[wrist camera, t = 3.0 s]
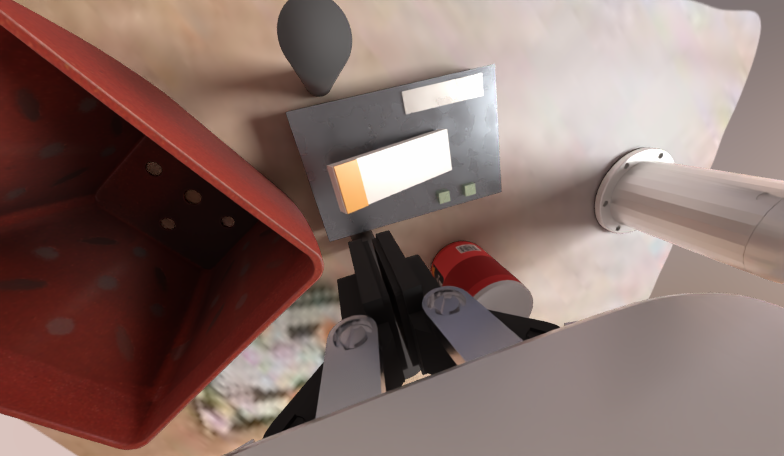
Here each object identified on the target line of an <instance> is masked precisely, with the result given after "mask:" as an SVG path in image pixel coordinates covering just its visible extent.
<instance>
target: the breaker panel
mask: <svg viewBox="0 0 784 456" xmlns="http://www.w3.org/2000/svg"><path fill="white" fill-rule="evenodd" d="M286 115H287V118H288V121H289V124H290V127H291V130H292V133H293V136H294V139H295V142H296V145H297V147H298V150H299V153H300V156H301V159H302V162H303V165H304V168H305V171H306V174H307V177H308V180H309V183H310V186H311V189H312V191H313V194H314V197H315V200H316V203H317V206H318V209H319V212H320V215H321V218H322V221H323V224H324V227H325V230H326V233H327V236H328V238H329V241H334V240H337V239H341V238H344V237H348V236H351V235H354V234H358V233H361V232H365V231H368V230H372V229H375V228H379V227H382V226H385V225H389V224H392V223H396V222H399V221H403V220H406V219H410V218H413V217H416V216H420V215H423V214H427V213H430V212H434V211H437V210H441V209H444V208H447V207H451V206H454V205H458V204H461V203H465V202H468V201H472V200H475V199H478V198H482V197H485V196H489V195H492V194H496V193H499V192H501V174H500V154H499V135H498V115H497V96H496V76H495V64H492V65H488V66H484V67H479V68H475V69H471V70H466V71H462V72H458V73H453V74H449V75H445V76H440V77H436V78H432V79H427V80H423V81H419V82H414V83H410V84H406V85H401V86H397V87H393V88H388V89H384V90H380V91H375V92H371V93H366V94H362V95H358V96H353V97H349V98H345V99H340V100H336V101H332V102H327V103H323V104H319V105H314V106H310V107H306V108H301V109H297V110H293V111H288V112H286ZM437 129H447V133H448V141H449V149H450V157H451V165H452V170H450V171H448V172H446V173H443V174H441V175H438V176H436V177H434V178H431V179H429V180H426V181H424V182H422V183H419V184H417V185H414V186H412V187H410V188H407V189H405V190H402V191H400V192H398V193H395V194H393V195H390V196H388V197H386V198H383V199H381V200H378V201H376V202H374V203H371V204H369V206H366V207H364V208H361V209H359V210H357V211H354V212H352V213H349V214H345V213H343V212H341V211H340V208H339V205H338V202H337V198H336V195H335V192H334V189H333V185H332V182H331V179H330V176H329V172H328V169H327V165H330V164H333V163H336V162H339V161H342V160H345V159H348V158H351V157H355V156H358V155H361V154H364V153H367V152H370V151H373V150H376V149H379V148H382V147H385V146H388V145H391V144H394V143H397V142H400V141H404V140H407V139H410V138H413V137H416V136H419V135H422V134H425V133H428V132H431V131H434V130H437Z"/></svg>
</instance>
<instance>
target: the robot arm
mask: <svg viewBox="0 0 784 456" xmlns="http://www.w3.org/2000/svg"><path fill="white" fill-rule="evenodd" d="M595 214H596V217H597V220H598V222H599V224H600V225H601V226H602V227H603V228H605V229H607V230H609V231H611V232H614V233H619V234H624V233H630V232H633V231H636V230H639V231H641V232H644V233H646V234H649V235H652V236H654V237H657V238H659V239H662V240H664V241H667V242H670V243H672V244H675V245H677V246H680V247H683V248H685V249H688V250H690V251H693V252H696V253H698V254H701V255H703V256H706V257H709V258H711V259H714V260H716V261H719V262H721V263H724V264H727V265H729V266H732V267H734V268H737V269H740V270H742V271H745V272H748V273H750V274H753V275H755V276H758V277H761V278H763V279H766V280H769V281H772V282H776V283H780V284H784V181H783V180H776V179H769V178H764V177H758V176H750V175H744V174H738V173H732V172H726V171H719V170H713V169H707V168H700V167H694V166H687V165H681V164H675V163H674V161H673V159H672V157H671V156H670V154H668V153H667V152H666V151H664V150H661V149H658V148H650V147H649V148H641V149H637V150H634V151H632V152H630V153H628V154H627V155H625V156H624V157H622V158H621V159H620V160H619V161H618V162H617V163H616V164H614V165H613V167H612V168H611V169H610V170H609V171H608V173H607V174H606V176H605V177H604V179H603V180H602V182H601V185H600V187H599V189H598V192H597V196H596V201H595ZM372 243H373V247H374V251H375V254H376V258H377V262H378V265H379V269H380V271H379V269H378V266H377V264H376V261H375V258H374V256H373V253H372V251H371V248H370V246H369V243H368V240H367V241H364V242H362V239H358V240H354V241H351V242H348V245H349V249H350V253H351V257H352V262H353V266H354V270H355V274H353V275H350V276H347V277H344V278H340V279H338V280H337V283H338V291H339V299H340V308H341V316H342V321H340V322H339V323H337V324H336V325H335V326H334V327H333V328H332V330H331V331H330V333H329V335H328V338H327V344H326V351H325V358H324V362H323V364H322V365H321V366H320V367H319V368H318V369H317V371H316V372H315V373H314V374H313V375H312V377H311V378H310V379H309V380H308V381H307V382H306V384H305V385H304V386H303V387H302V388H301V389H300V391H299V392H298V393H297V394H296V395H295V397H294V398H293V399H292V400H291V401H290V402H289V404H288V405H287V406H286V407H285V408H284V410H283V411H282V412H281V413H280V414H279V415H278V417H277V418H276V419H275V420H274V421H273V423H272V424H271V425H270V427H269V428H268V430H267V431H266V432H265V435H264V437H263V439H262V440H259V441H257V442H255V441H254V439H252V440H251V441H249V442H247V443H245V444H244V445H242V446H240V447H239V448H237V449H235V450H234V451H232V452H229V453H227V454H224V455H222V456H784V307H781V306H778V305H775V304H772V303H770V302H767V301H763V300H760V299H756V298H752V297H748V296H743V295H737V294H726V293H690V294H676V295H669V296H663V297H656V298H652V299H647V300H643V301H639V302H635V303H631V304H628V305H625V306H622V307H619V308H616V309H613V310H610V311H606V312H603V313H600V314H597V315H594V316H591V317H589V318H586V319H583V320H580V321H575V322H568V323H564V326H563V327H559V326H557V325H555V324H552V323H548V322H545V321H540V320H535V319H530V318H526V317H521V316H516V315H512V314H507V313H502V312H498V311H493V310H488V309H486V308H485V307H484V306H483V305H482V304H480V303H479V302H478V301H477V300H476V299H475V298H473V297H472V296H471V295H470V294H469V293H468V292H466V291H465V290H463V289H462V288H458V287H455V286H442V287H440V285H439V284H438V282H437V281H436V279H435V278H434V277H433V275H432V274H431V272H430V271H429V269H428V268H427V266H426V265H425V264H424V262H423V261H422V259H421V258H420V256H419V255H414V256H411V257H407V258H405V257H404V255H403V253H402V252H401V250H400V248H399V246H398V245H397V243H396V241H395V240H394V238H393V236H392V235H391V233H390V231H389V230H388V231H385V232H381V233H378V234H376V238H374V239H372ZM380 273H381V274H380ZM396 323H397V324H396ZM397 325H398V328H399V331H400V333H401V336H402V339H403V342H404V344H405V347H406V350H407V352H408V355H409V358H410V360H411V363H412V366H413V367H414V366H417V365H419V367H420V369H421V372H422V374H423V375H424V374H427V373H429V374H431V375H430V376H427V377H425V378H422V379H419V380H417V381H414V382H411V383H409V384H406V385H403V386H402V384H403V382H405V377H404V373H403V370H406V369H408V366H407V362H406V358H405V354H404V351H403V347H402V343H401V339H400V336H399V332H398V328H397Z"/></svg>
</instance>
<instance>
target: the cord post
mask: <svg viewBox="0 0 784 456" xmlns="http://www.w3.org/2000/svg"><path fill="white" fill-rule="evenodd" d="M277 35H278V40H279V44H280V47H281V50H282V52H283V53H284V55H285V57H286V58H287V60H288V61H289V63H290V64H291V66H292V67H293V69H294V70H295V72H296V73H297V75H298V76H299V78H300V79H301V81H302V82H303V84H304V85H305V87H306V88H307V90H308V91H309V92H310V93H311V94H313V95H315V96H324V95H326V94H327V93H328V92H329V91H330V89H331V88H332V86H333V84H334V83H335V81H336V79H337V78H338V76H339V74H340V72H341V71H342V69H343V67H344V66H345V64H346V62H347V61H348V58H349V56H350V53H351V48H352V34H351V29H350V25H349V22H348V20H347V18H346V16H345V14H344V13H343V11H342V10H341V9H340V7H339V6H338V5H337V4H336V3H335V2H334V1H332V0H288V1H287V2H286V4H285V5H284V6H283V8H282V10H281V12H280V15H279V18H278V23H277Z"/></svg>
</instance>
